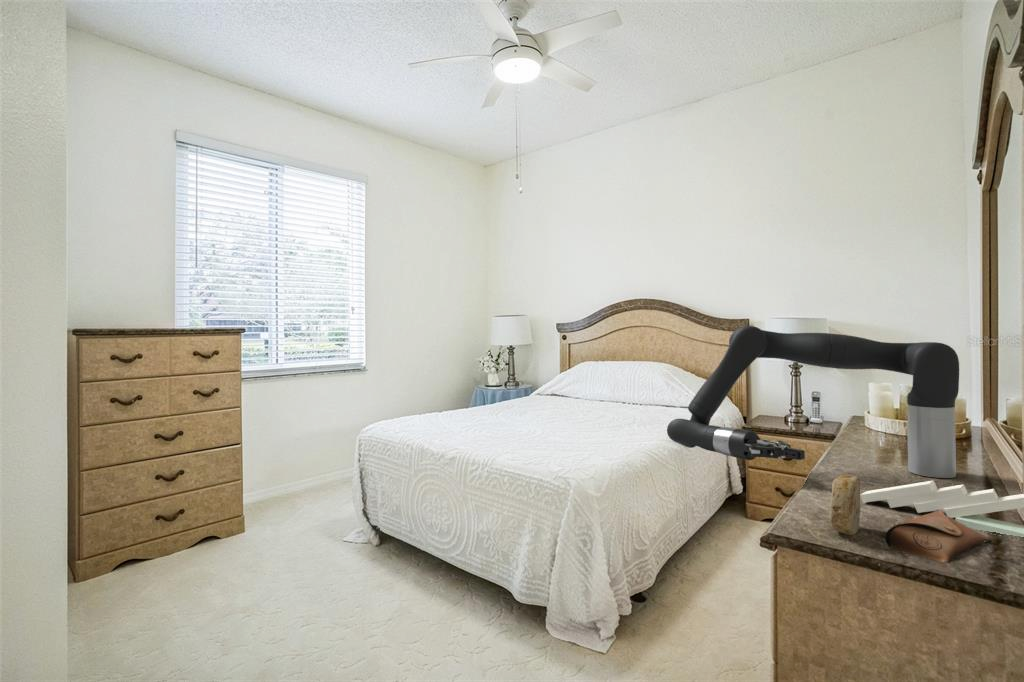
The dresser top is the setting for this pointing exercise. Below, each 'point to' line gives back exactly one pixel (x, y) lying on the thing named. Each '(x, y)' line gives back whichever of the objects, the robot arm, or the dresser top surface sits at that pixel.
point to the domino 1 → (899, 491)
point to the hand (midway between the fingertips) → (803, 455)
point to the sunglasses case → (933, 536)
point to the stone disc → (845, 504)
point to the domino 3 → (959, 501)
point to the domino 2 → (930, 496)
